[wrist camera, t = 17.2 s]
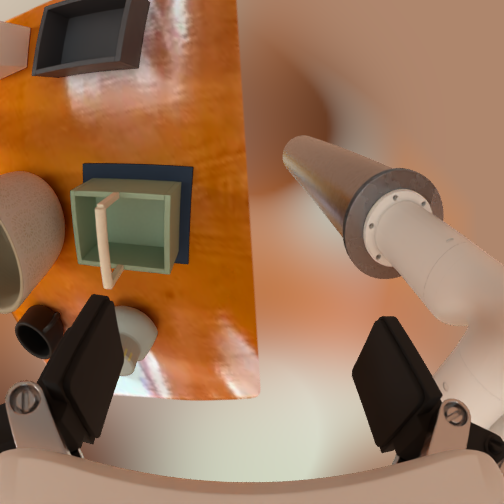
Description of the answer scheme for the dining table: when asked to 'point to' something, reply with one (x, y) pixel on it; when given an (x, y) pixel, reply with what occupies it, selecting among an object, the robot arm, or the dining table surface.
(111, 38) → the box
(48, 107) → the dining table surface
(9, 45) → the milk carton
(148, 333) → the air freshener
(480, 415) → the robot arm
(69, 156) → the dining table surface
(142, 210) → the box
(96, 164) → the mat
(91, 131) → the dining table surface
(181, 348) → the dining table surface
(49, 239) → the planter
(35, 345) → the mug
